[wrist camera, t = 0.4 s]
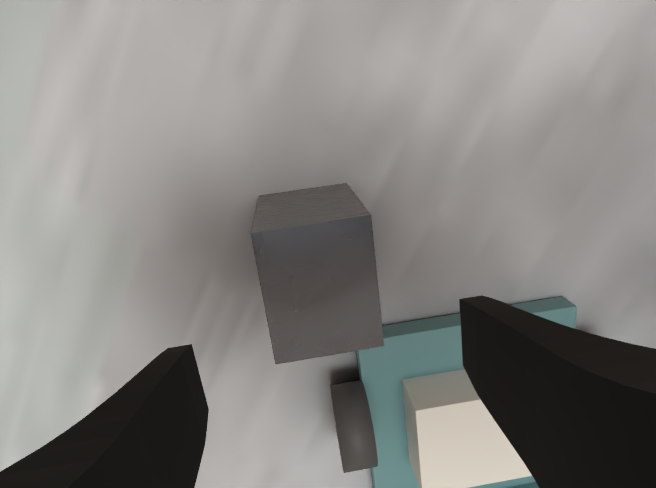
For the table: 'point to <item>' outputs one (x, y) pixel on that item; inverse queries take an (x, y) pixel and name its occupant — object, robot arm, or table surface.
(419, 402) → the chassis
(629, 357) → the robot arm
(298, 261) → the dark grey upright block
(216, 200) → the table surface
